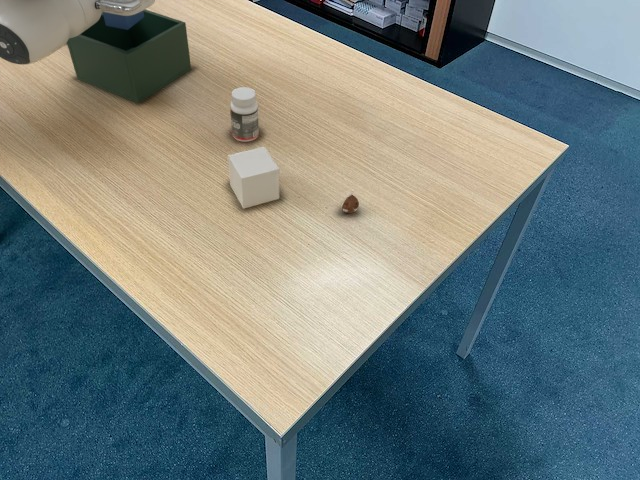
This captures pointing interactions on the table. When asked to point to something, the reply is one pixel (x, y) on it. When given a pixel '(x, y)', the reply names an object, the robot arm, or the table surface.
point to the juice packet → (122, 20)
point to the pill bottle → (244, 114)
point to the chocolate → (350, 203)
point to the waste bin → (132, 55)
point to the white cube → (254, 177)
